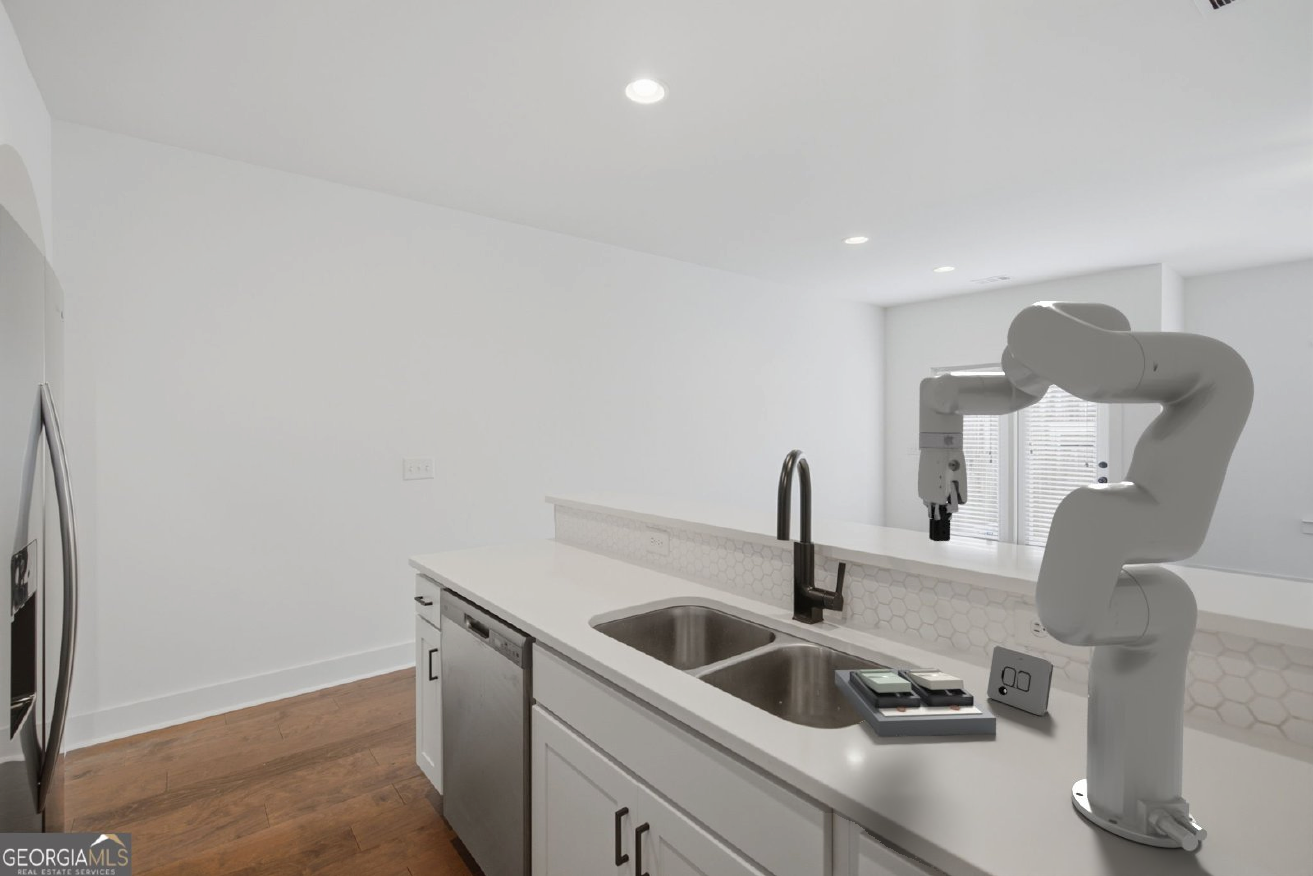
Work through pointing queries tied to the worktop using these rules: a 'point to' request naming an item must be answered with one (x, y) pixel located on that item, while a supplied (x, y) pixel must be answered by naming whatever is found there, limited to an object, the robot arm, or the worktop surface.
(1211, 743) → the worktop surface
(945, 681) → the rocker ivory
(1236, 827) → the worktop surface
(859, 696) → the switch panel
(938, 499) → the robot arm
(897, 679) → the rocker sage
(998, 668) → the electrical switch
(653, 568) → the worktop surface
